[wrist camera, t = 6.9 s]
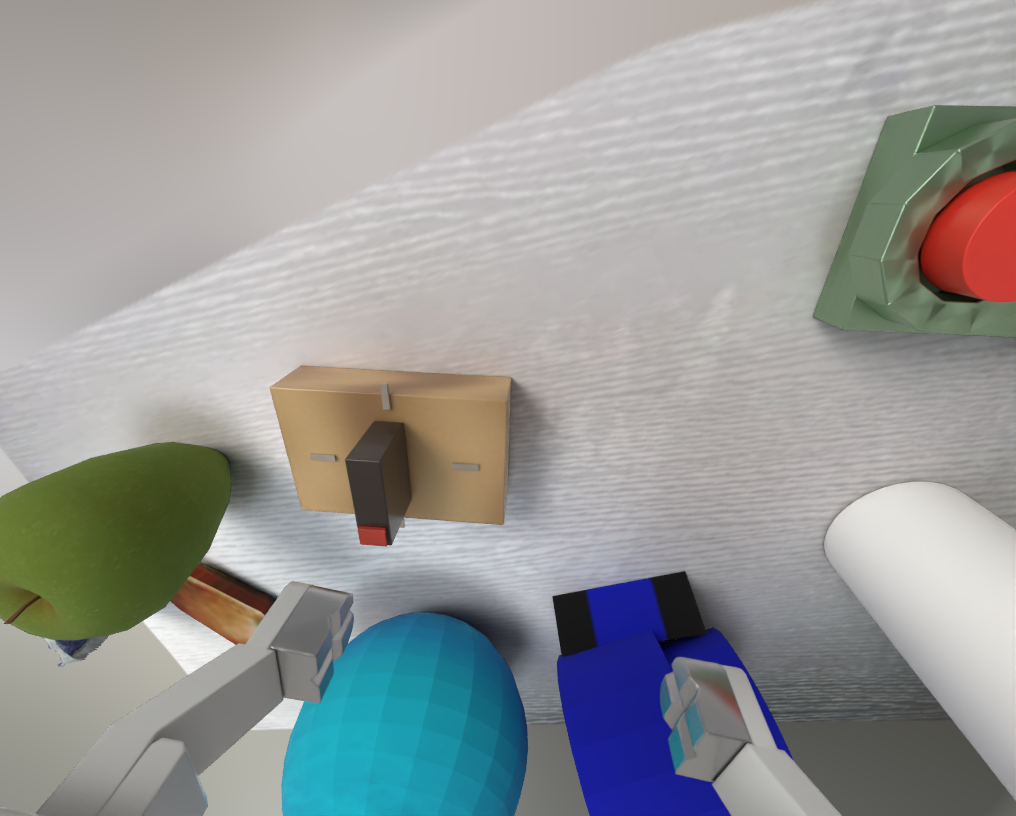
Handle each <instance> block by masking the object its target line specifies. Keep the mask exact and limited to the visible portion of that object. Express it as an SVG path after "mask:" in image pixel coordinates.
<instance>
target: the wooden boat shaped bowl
mask: <svg viewBox="0 0 1016 816" xmlns="http://www.w3.org/2000/svg"><path fill="white" fill-rule="evenodd" d="M171 602H172V603H173V604H174V605H175V606H176V607H177V608H179V609H180V610H182V611H183V612H185V613H186V614H188V615H190V616H191V617H193V618H194V619H196V620H197V621H199V622H201V623H202V624H204V625H205V626H207V627H208V628H210V629H212V630H213V631H215V632H216V633H218V634H220V635H221V636H223V637H224V638H226V639H227V640H229V641H231V642H232V643H234V644H235V645H237V644H239V643H241V644H246V642H247V641H248V640H249V638H250V637H251V635H252V634H253V632H254V631H255V630H256V628H257V627H258V625H259V624H260V622H261V621H262V620H263V618H264V617H265V615H266V614H267V612H268V611H269V609H270V608H271V607H272V605H273V604H274V601H273V600H272V599H271V597H270V596H268V595H266V594H264V593H262V592H260V591H258V590H256V589H254V588H252V587H250V586H248V585H246V584H244V583H242V582H240V581H238V580H235V579H233V578H231V577H229V576H227V575H225V574H223V573H221V572H219V571H217V570H215V569H213V568H211V567H209V566H207V565H205V564H202V563H199V564H198V565H197V567H196V568H195V569H194V571H193V572H192V573H191V575H190V576H189V577H188V579H187V580H186V582H185V583H184V584H183V586H182V587H181V588H180V590H179V591H178V592H177V594H176V595H175V596H174V597H173V598H172V599H171Z"/></svg>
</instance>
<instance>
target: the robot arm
mask: <svg viewBox="0 0 1016 816" xmlns="http://www.w3.org/2000/svg"><path fill="white" fill-rule="evenodd" d="M352 604H353V594H352V593H347V592H342V591H337V590H332V589H328V588H323V587H318V586H313V585H310V584H304V583H299V582H294V581H292V582H290V583H289V584H288V585H287V586H286V587H285V588H284V589H283V591H282V592H281V594H280V595H279V597H278V598H277V599H276V601H275V602H274V604H273V605H272V607H271V608H270V609H269V611H268V612H267V614H266V615H265V617H264V618H263V620H262V621H261V622H260V624H259V625H258V627H257V628H256V630H255V631H254V632H253V634H252V635H251V637H250V638H249V640H248V641H247V642H246V644H241V643H239V644H237V645H235V646H234V647H232V648H231V649H229V650H228V651H226V652H224V653H223V654H221V655H220V656H218V657H216V658H215V659H213V660H212V661H210V662H209V663H207V664H205V665H204V666H202V667H201V668H199V669H198V670H196V671H194V672H193V673H191V674H190V675H188V676H187V677H185V678H183V679H182V680H180V681H179V682H177V683H175V684H174V685H172V686H171V687H169V688H168V689H166V690H164V691H163V692H161V693H160V694H158V695H157V696H155V697H153V698H152V699H150V700H149V701H147V702H146V703H144V704H142V705H141V706H139V707H138V708H136V709H134V710H133V711H131V712H130V713H128V714H126V715H125V716H123V717H122V718H120V719H119V720H117V721H115V722H114V723H112V724H111V725H110V726H109V727H108V729H107V730H106V731H105V732H104V733H103V734H102V736H101V737H100V738H99V739H98V740H97V742H96V743H95V744H94V745H93V746H92V748H91V749H90V750H89V751H88V752H87V753H86V755H85V756H84V757H83V758H82V759H81V760H80V762H79V763H78V764H77V765H76V766H75V767H74V769H73V770H72V771H71V772H70V773H69V775H68V776H67V777H66V778H65V779H64V781H63V782H62V783H61V784H60V785H59V786H58V787H57V789H56V790H55V791H54V792H53V793H52V795H51V796H50V797H49V798H48V799H47V800H46V802H45V803H44V804H43V805H42V806H41V808H40V809H39V810H38V811H37V812H36V813H35V814H34V813H30V812H25V811H20V810H15V809H10V808H5V807H0V816H203V814H204V812H205V810H206V809H207V807H208V804H207V797H206V794H205V792H204V790H203V787H202V785H201V782H200V780H199V778H198V776H199V775H200V774H201V773H202V772H203V771H204V770H205V769H207V768H208V767H209V766H210V765H211V764H212V763H213V762H214V761H215V760H217V759H218V758H219V757H220V756H221V755H222V754H223V753H225V752H226V750H228V749H229V748H230V747H231V746H232V745H234V744H235V743H236V742H237V741H238V740H239V739H240V738H241V737H242V736H244V735H245V734H246V733H247V732H248V731H249V730H250V729H252V728H253V727H254V726H255V725H256V724H257V723H258V722H259V721H260V720H262V719H263V718H264V717H265V716H266V715H267V714H268V713H269V712H271V711H272V710H273V709H274V708H275V707H276V706H277V705H278V704H280V703H281V702H282V701H283V698H289V699H296V700H302V701H308V702H314V703H320V702H321V700H322V698H323V696H324V694H325V692H326V689H327V687H328V685H329V683H330V681H331V679H332V677H333V675H334V666H333V662H334V661H335V660H336V659H338V658H339V657H340V656H342V655H343V653H344V651H345V648H346V646H347V644H348V641H349V638H350V635H351V632H352V628H353V622H354V614H353V613H352V612H351V611H350V608H351V606H352ZM672 668H673V672H671V673H669V674H666V675H665V677H664V679H663V681H662V683H661V689H660V705H661V710H662V715H663V718H664V720H665V721H666V722H667V724H668V725H669V727H670V728H671V729H672V731H671V733H670V735H669V738H668V743H669V747H670V752H671V756H672V761H673V765H674V770H675V774H678V775H682V776H686V777H691V778H695V779H700V780H704V781H708V782H713V784H712V786H713V787H714V789H715V790H716V792H717V794H718V795H719V797H720V798H721V800H722V802H723V803H724V805H725V806H726V808H727V810H728V811H729V813H730V814H731V816H842V815H841V814H840V813H839V812H838V811H837V810H836V809H835V808H834V806H833V805H832V804H831V803H830V802H829V801H828V800H827V798H826V797H825V796H824V795H823V794H822V793H821V792H820V791H819V790H818V788H817V787H816V786H815V785H814V784H813V783H812V782H811V780H810V779H809V778H808V777H807V776H806V775H805V774H804V772H803V771H802V770H801V769H800V768H799V767H798V766H797V764H796V763H795V762H794V761H793V760H792V759H791V758H790V757H789V755H788V754H787V753H786V752H785V751H784V750H780V749H777V746H776V744H775V742H774V739H773V737H772V735H771V732H770V730H769V727H768V725H767V723H766V720H765V718H764V716H763V713H762V711H761V708H760V706H759V704H758V701H757V699H756V697H755V694H754V692H753V689H752V687H751V685H750V682H749V680H748V678H747V675H746V674H745V672H744V671H743V670H742V669H740V668H737V667H731V666H726V665H720V664H718V663H713V662H707V661H701V660H696V659H690V658H684V657H677V658H675V660H674V661H673V663H672Z"/></svg>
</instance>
